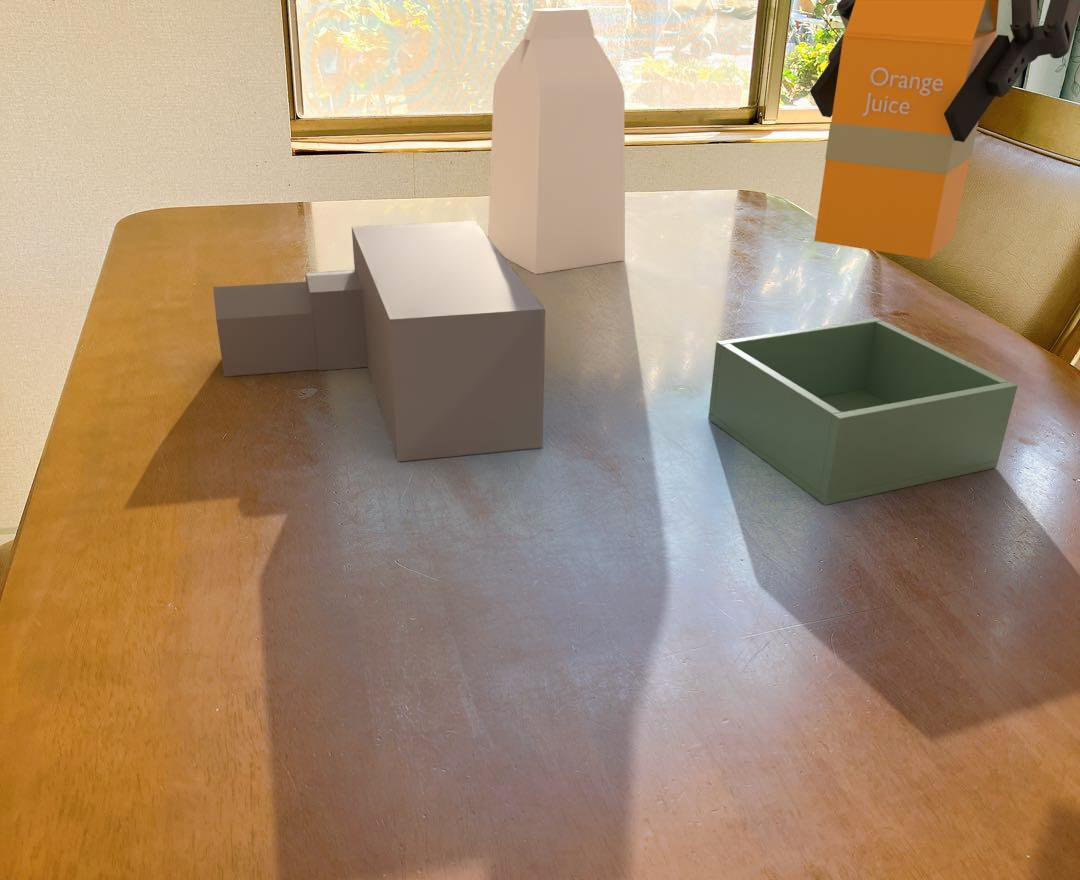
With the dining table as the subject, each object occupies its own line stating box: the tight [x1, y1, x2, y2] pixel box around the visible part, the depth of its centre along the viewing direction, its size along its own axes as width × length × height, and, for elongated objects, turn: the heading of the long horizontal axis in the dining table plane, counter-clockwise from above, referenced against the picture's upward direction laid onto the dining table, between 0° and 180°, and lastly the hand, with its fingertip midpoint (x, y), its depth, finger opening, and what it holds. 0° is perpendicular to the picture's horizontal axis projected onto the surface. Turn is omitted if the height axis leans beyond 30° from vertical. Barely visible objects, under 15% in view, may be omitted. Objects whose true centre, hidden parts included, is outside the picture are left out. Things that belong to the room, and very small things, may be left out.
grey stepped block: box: [212, 220, 546, 463], centre depth 87 cm, size 25×23×11 cm
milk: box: [487, 7, 626, 275], centre depth 120 cm, size 12×12×26 cm
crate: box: [707, 317, 1018, 506], centre depth 82 cm, size 16×16×7 cm
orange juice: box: [813, 0, 1000, 260], centre depth 78 cm, size 8×9×20 cm
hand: (883, 115), depth 77 cm, fingers closed on orange juice, 11 cm apart
